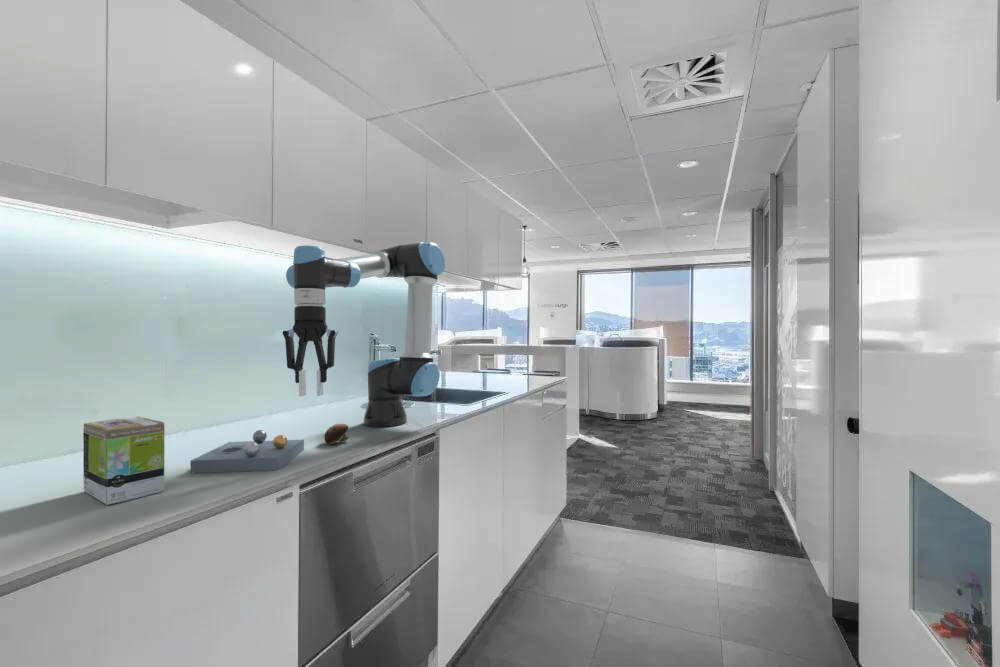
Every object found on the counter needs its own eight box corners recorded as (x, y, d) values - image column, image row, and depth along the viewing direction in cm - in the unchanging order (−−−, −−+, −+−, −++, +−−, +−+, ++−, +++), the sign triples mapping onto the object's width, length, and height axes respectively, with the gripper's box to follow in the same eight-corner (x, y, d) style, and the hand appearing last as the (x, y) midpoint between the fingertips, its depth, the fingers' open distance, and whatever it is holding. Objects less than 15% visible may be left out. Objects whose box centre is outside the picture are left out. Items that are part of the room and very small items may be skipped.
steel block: (268, 440, 124) (268, 428, 124) (263, 443, 121) (263, 431, 121) (256, 441, 124) (255, 429, 124) (250, 444, 121) (250, 431, 121)
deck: (304, 450, 126) (303, 439, 126) (278, 469, 108) (278, 457, 108) (229, 452, 124) (228, 441, 124) (190, 473, 106) (190, 460, 106)
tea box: (167, 491, 94) (166, 421, 94) (105, 507, 86) (104, 430, 86) (140, 478, 103) (139, 414, 103) (81, 492, 94) (80, 421, 94)
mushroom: (359, 429, 137) (346, 414, 135) (348, 445, 130) (334, 429, 128) (340, 440, 139) (327, 425, 137) (329, 456, 132) (314, 441, 130)
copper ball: (289, 446, 118) (289, 433, 118) (284, 449, 115) (284, 436, 115) (276, 446, 118) (275, 433, 118) (270, 450, 115) (270, 436, 115)
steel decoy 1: (262, 454, 111) (262, 440, 111) (256, 457, 108) (255, 443, 108) (247, 454, 111) (247, 440, 111) (241, 458, 107) (241, 444, 107)
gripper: (270, 305, 112) (271, 398, 113) (339, 304, 114) (340, 396, 114) (282, 306, 120) (283, 394, 120) (346, 306, 121) (347, 392, 122)
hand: (311, 395), depth 117 cm, fingers open, 4 cm apart
